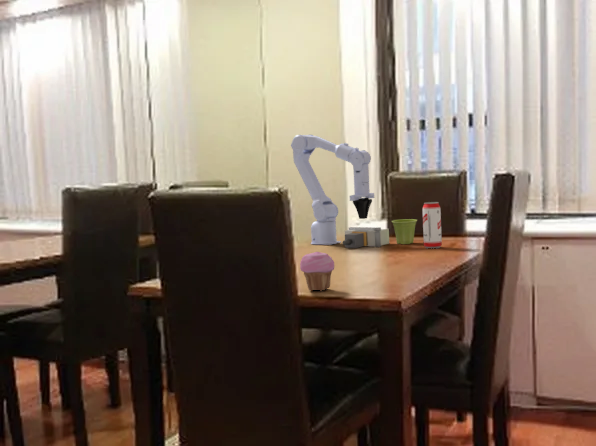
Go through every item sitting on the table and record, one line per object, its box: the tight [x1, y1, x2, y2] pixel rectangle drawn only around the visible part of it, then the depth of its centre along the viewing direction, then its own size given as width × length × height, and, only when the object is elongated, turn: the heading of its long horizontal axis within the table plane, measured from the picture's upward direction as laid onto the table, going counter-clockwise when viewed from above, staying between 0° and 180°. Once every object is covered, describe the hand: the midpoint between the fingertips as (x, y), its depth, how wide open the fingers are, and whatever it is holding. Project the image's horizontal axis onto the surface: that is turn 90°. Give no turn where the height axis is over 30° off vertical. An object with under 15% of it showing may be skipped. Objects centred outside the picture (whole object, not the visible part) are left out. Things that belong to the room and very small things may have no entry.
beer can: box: [422, 201, 443, 250], centre depth 262 cm, size 6×6×16 cm
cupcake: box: [299, 251, 335, 292], centre depth 190 cm, size 9×9×10 cm
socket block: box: [344, 228, 390, 248], centre depth 281 cm, size 16×11×6 cm
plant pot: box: [391, 218, 418, 245], centre depth 279 cm, size 9×9×9 cm
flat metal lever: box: [348, 226, 382, 231], centre depth 276 cm, size 13×3×1 cm, turn 53°
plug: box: [342, 231, 368, 249], centre depth 276 cm, size 6×15×5 cm, turn 143°
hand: (363, 218), depth 282 cm, fingers closed
